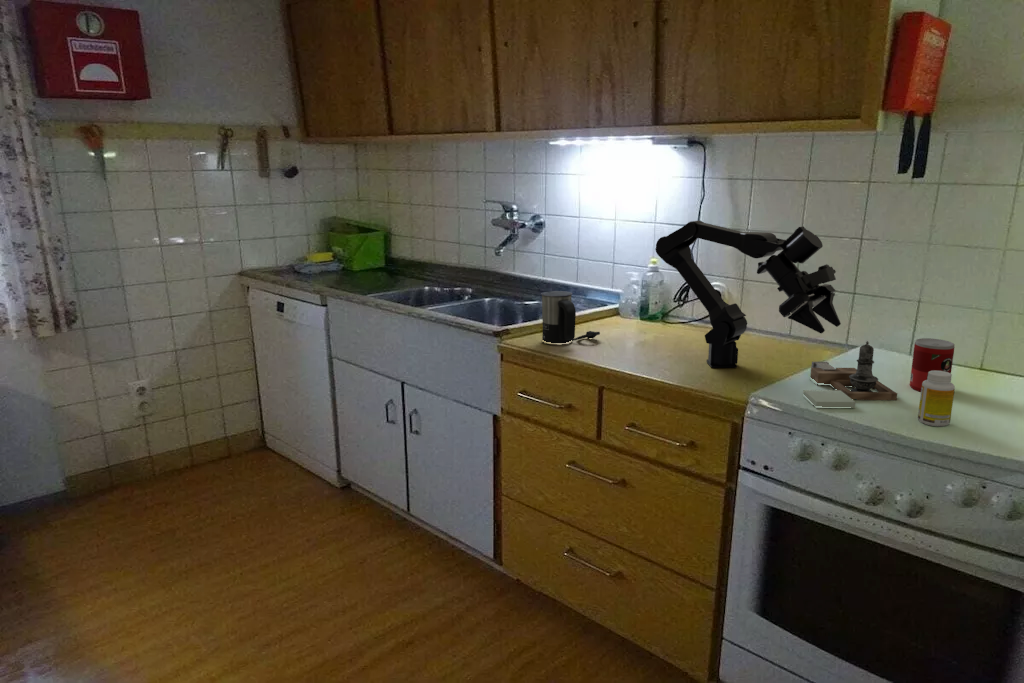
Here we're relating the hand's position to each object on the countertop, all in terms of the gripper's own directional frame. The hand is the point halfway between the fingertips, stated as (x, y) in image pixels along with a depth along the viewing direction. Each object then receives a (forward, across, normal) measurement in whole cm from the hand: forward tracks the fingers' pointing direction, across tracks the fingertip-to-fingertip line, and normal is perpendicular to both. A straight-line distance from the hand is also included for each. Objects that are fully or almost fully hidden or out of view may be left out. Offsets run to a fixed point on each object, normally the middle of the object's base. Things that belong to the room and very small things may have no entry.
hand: (831, 328), depth 162 cm
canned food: (+22, +13, -3) cm, 26 cm away
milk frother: (-41, -6, +61) cm, 74 cm away
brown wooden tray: (+13, +1, +6) cm, 15 cm away
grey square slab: (+13, -12, +6) cm, 19 cm away
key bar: (+8, +6, +12) cm, 15 cm away
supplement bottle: (+28, -10, -8) cm, 30 cm away
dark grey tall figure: (+15, 0, +4) cm, 16 cm away
